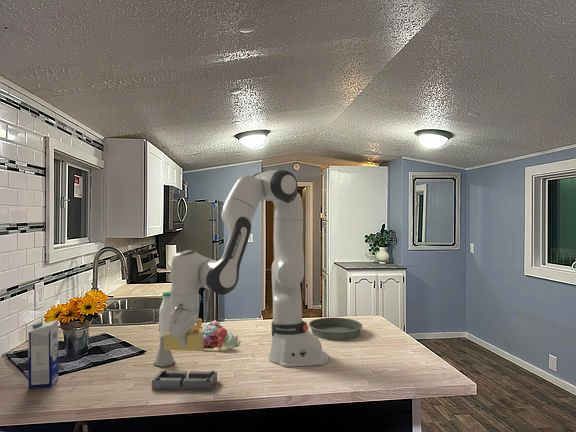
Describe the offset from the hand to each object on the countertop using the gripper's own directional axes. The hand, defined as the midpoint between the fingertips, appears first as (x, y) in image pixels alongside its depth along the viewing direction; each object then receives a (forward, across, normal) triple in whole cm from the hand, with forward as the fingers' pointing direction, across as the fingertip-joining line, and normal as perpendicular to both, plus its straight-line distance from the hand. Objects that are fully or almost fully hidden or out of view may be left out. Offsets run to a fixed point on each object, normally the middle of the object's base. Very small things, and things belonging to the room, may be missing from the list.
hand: (184, 344), depth 140 cm
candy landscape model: (+14, +46, +2) cm, 48 cm away
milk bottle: (+14, +53, +23) cm, 60 cm away
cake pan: (+13, +62, -52) cm, 82 cm away
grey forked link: (+13, 0, -5) cm, 14 cm away
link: (+13, 0, +5) cm, 14 cm away
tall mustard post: (+2, 0, 0) cm, 2 cm away
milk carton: (+14, -1, +46) cm, 48 cm away
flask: (+14, +19, +13) cm, 27 cm away
